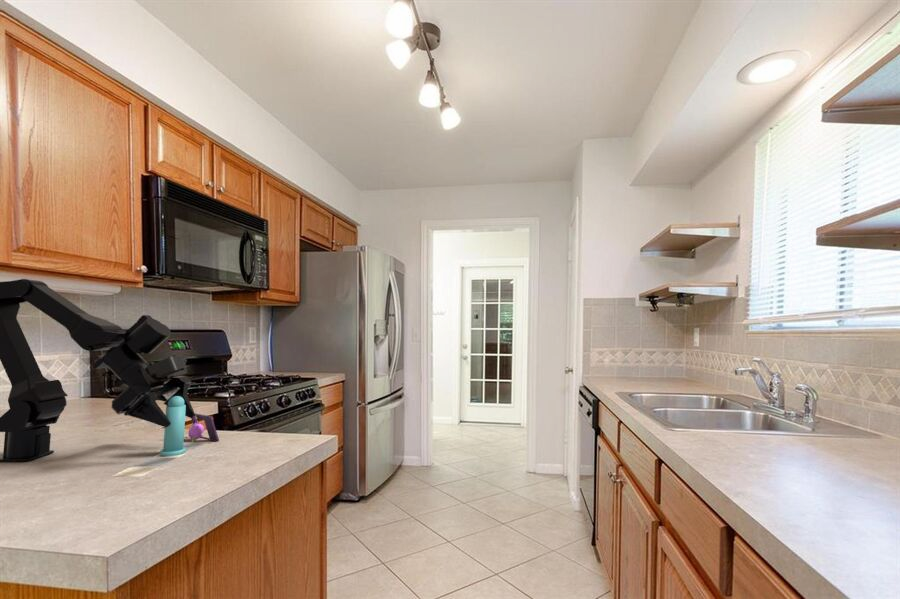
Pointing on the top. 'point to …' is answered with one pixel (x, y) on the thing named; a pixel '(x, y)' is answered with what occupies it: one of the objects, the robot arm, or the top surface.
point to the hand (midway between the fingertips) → (181, 420)
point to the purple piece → (198, 428)
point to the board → (155, 462)
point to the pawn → (174, 428)
